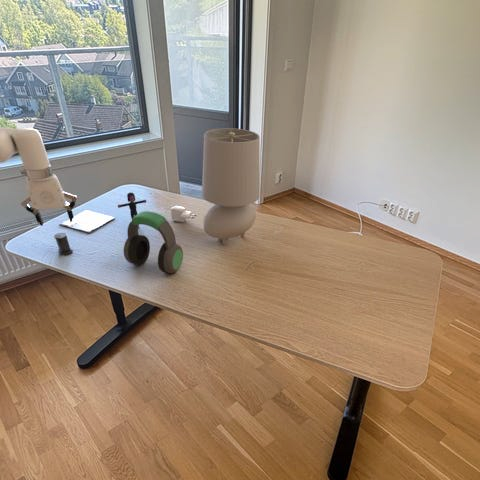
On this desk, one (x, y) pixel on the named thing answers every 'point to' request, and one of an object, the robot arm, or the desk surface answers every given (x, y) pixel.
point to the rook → (63, 244)
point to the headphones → (140, 246)
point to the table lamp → (230, 181)
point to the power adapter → (180, 214)
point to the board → (87, 221)
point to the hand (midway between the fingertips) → (56, 222)
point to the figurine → (132, 204)
